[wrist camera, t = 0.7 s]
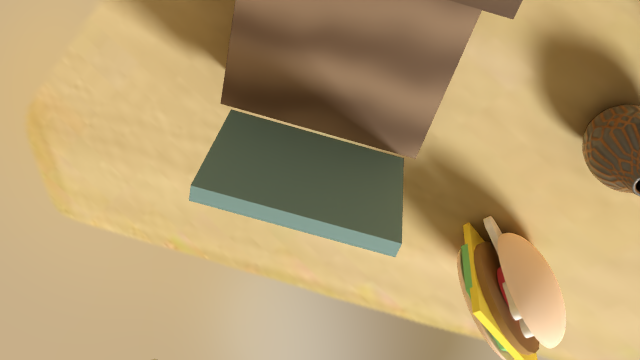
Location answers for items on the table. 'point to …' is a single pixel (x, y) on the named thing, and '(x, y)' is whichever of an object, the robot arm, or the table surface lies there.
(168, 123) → the table surface
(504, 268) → the hamburger
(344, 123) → the wooden l-shaped block
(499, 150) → the table surface
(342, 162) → the grey-green flat slab
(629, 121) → the vase
